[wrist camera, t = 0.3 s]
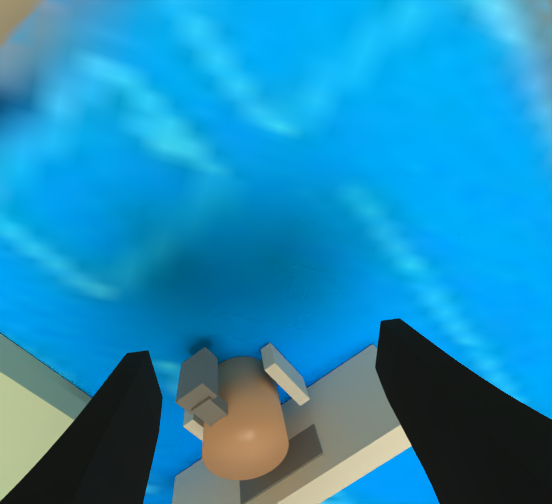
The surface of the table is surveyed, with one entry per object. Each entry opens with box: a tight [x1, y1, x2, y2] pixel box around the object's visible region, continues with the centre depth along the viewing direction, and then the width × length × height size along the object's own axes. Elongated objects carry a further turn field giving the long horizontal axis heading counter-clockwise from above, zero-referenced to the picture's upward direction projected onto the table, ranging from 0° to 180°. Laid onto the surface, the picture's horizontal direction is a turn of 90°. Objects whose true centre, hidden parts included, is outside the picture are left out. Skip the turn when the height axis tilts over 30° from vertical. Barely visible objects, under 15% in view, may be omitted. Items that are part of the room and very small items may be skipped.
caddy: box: [176, 347, 289, 480], centre depth 20 cm, size 5×7×5 cm, turn 36°
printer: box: [172, 343, 412, 504], centre depth 21 cm, size 18×7×6 cm, turn 126°
